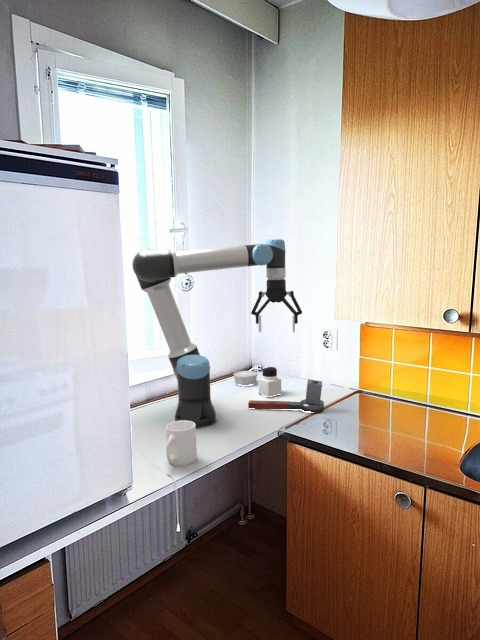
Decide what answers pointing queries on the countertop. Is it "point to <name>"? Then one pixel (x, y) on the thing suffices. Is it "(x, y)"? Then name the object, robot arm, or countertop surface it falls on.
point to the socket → (313, 392)
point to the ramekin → (245, 377)
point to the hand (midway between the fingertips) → (276, 331)
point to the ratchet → (287, 405)
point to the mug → (181, 442)
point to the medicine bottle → (269, 382)
